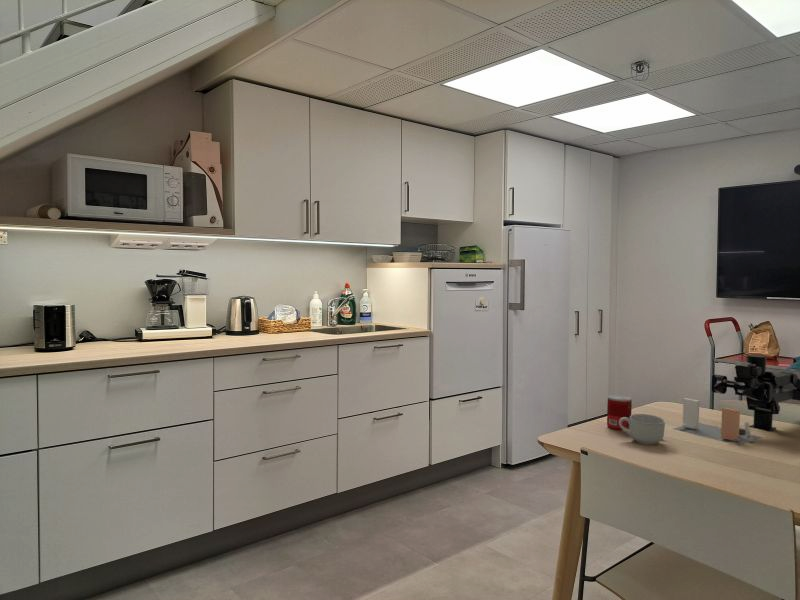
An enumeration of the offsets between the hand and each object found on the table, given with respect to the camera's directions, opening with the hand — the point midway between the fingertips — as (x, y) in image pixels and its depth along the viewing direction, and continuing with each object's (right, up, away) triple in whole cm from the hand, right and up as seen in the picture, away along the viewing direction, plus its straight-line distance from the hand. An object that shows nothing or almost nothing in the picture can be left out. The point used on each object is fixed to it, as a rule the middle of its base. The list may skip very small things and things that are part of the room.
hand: (728, 390), depth 188 cm
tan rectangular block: (-1, -16, -3) cm, 16 cm away
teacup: (-30, -17, -2) cm, 35 cm away
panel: (-1, -16, +5) cm, 17 cm away
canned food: (-31, -16, +14) cm, 38 cm away
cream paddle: (-7, -15, +10) cm, 20 cm away
